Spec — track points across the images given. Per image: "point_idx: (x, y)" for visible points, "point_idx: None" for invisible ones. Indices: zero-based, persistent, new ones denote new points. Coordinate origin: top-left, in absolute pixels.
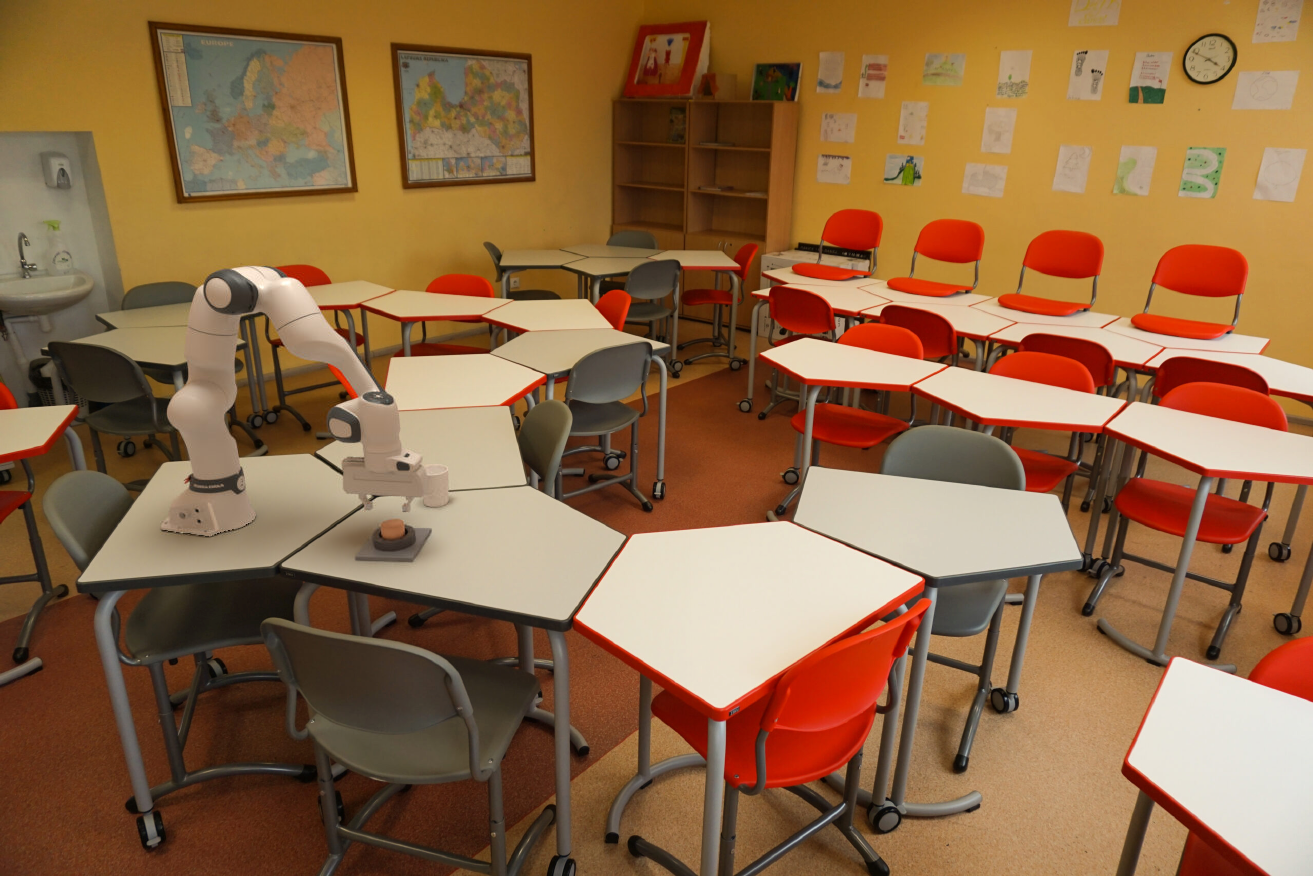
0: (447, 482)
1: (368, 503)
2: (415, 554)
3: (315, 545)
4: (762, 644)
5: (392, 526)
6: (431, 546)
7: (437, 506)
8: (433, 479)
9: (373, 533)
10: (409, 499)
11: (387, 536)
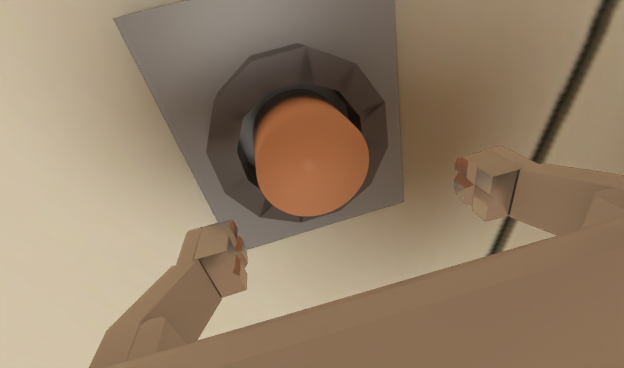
0: None
1: (506, 186)
2: (143, 73)
3: (565, 37)
4: None
5: (296, 146)
6: (157, 168)
7: None
8: None
9: (384, 116)
10: (123, 338)
11: (302, 100)
